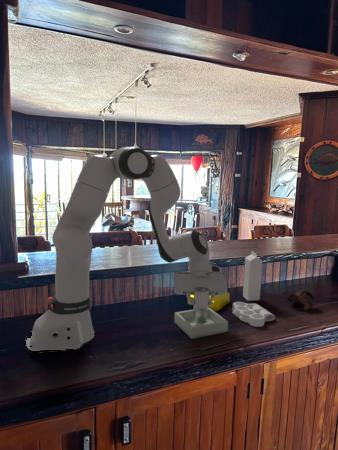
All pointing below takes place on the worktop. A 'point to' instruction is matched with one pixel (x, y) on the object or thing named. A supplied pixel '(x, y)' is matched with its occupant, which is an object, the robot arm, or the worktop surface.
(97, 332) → the worktop surface
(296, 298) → the turtle figurine
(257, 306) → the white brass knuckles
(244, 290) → the milk
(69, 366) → the worktop surface
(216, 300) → the element tile
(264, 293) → the worktop surface
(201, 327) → the sage bin
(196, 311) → the gray flashlight
